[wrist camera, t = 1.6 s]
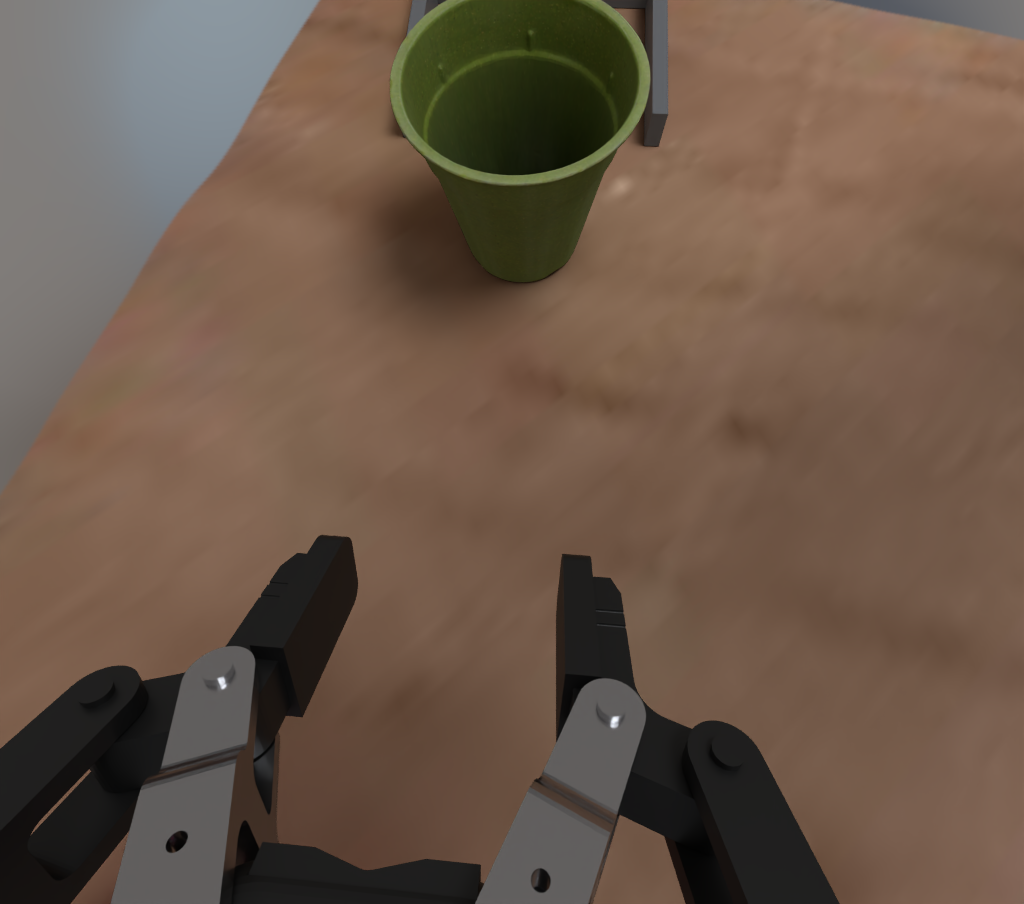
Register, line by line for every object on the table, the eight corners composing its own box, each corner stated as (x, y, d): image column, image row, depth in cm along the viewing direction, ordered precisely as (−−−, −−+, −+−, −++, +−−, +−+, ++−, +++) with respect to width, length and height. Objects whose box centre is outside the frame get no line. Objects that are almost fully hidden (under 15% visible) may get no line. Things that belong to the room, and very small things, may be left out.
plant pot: (417, 187, 35) (368, 8, 24) (583, 150, 36) (607, -43, 25) (453, 337, 32) (415, 208, 21) (633, 294, 33) (687, 146, 22)
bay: (658, -1, 39) (667, -40, 37) (658, 146, 36) (668, 113, 33) (426, -7, 40) (420, -45, 38) (403, 137, 36) (394, 104, 34)
